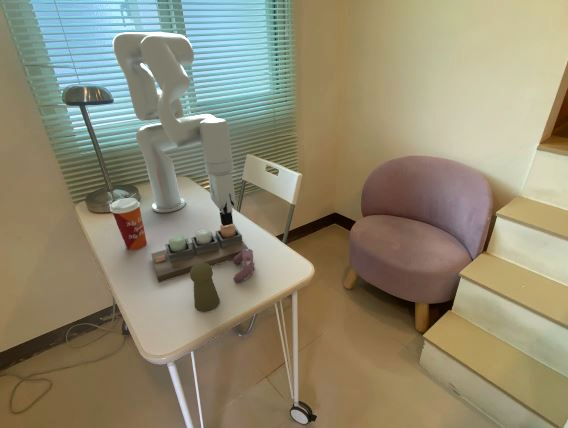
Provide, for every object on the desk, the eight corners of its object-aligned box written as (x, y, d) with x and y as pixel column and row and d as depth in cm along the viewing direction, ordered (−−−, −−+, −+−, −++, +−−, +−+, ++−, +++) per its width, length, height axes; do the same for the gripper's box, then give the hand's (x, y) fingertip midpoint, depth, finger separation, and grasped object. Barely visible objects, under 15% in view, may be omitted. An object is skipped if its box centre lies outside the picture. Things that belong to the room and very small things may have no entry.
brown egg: (219, 233, 98) (218, 224, 96) (232, 229, 100) (231, 221, 98) (223, 239, 94) (222, 231, 93) (237, 236, 96) (236, 227, 95)
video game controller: (248, 287, 84) (258, 266, 81) (232, 283, 82) (242, 262, 80) (246, 264, 92) (255, 245, 90) (231, 261, 91) (240, 241, 88)
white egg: (195, 239, 95) (193, 231, 93) (209, 235, 97) (208, 227, 95) (198, 246, 91) (197, 238, 90) (213, 242, 93) (212, 234, 92)
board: (152, 259, 94) (149, 246, 91) (235, 235, 104) (234, 224, 102) (158, 282, 84) (154, 269, 82) (249, 254, 94) (247, 241, 92)
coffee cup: (140, 253, 97) (127, 209, 90) (117, 250, 98) (102, 208, 91) (155, 238, 104) (144, 197, 97) (133, 236, 105) (121, 195, 98)
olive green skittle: (218, 311, 74) (212, 274, 69) (192, 313, 74) (184, 276, 69) (220, 293, 80) (215, 258, 74) (196, 295, 79) (189, 259, 74)
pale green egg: (169, 246, 92) (167, 238, 91) (184, 242, 94) (183, 234, 92) (172, 254, 88) (170, 245, 87) (188, 249, 90) (186, 241, 89)
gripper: (199, 160, 91) (208, 216, 100) (213, 176, 79) (222, 238, 88) (224, 156, 94) (231, 211, 102) (241, 171, 82) (247, 231, 91)
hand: (227, 223), depth 95 cm, fingers closed
